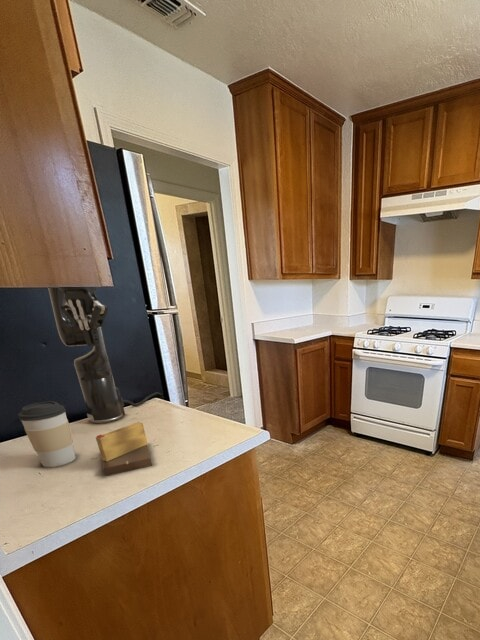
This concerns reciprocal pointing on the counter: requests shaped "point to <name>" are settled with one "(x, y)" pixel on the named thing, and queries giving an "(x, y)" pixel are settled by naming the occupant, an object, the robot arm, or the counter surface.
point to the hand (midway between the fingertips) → (93, 345)
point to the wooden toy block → (121, 441)
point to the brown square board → (128, 461)
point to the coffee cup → (48, 432)
